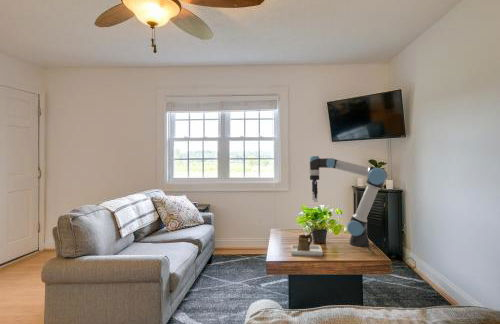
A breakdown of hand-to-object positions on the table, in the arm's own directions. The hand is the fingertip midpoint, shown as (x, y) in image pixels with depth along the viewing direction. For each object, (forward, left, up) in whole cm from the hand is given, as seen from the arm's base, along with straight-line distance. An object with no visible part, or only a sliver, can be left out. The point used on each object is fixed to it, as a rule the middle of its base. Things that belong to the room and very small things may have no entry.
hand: (314, 200), depth 254 cm
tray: (+9, +25, -35) cm, 44 cm away
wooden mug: (+9, +25, -34) cm, 43 cm away
